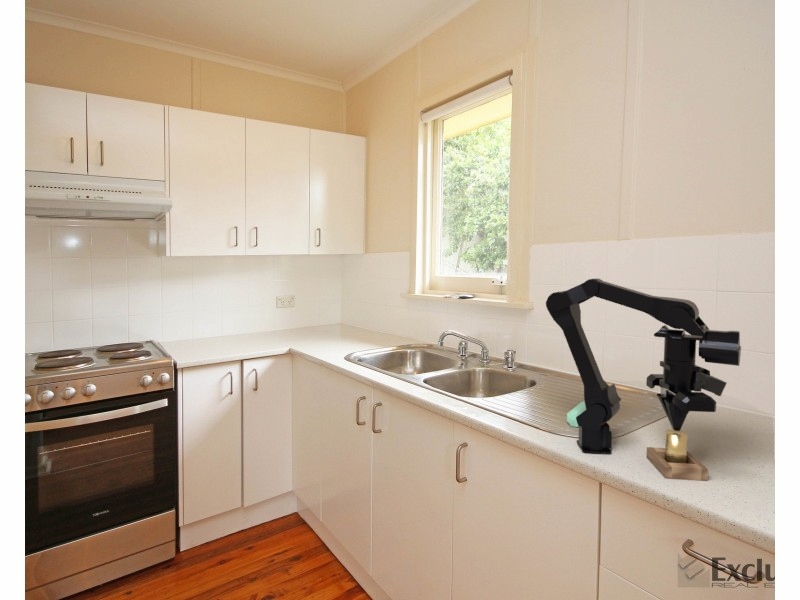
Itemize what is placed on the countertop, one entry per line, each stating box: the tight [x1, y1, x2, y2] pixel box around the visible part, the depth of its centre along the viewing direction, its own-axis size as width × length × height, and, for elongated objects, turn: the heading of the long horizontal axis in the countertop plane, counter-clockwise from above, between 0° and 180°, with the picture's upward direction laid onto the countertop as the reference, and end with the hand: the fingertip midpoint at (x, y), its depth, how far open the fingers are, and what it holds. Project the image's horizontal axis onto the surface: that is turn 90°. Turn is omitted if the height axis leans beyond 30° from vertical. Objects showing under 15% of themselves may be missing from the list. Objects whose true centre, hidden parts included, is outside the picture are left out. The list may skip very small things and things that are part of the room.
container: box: [566, 400, 586, 428], centre depth 131 cm, size 6×6×25 cm
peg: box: [664, 428, 688, 463], centre depth 97 cm, size 4×4×8 cm
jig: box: [646, 446, 709, 482], centre depth 97 cm, size 8×10×2 cm
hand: (676, 430), depth 97 cm, fingers closed
